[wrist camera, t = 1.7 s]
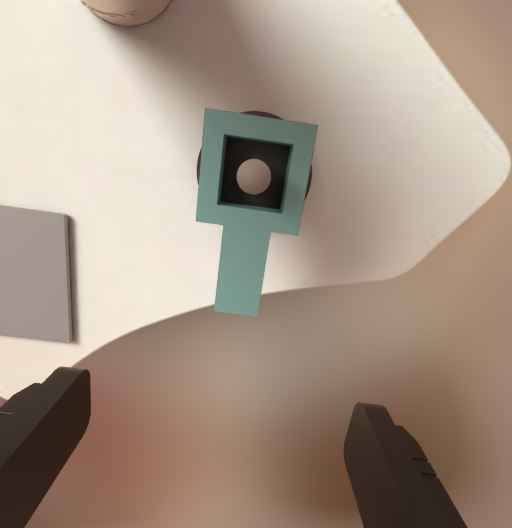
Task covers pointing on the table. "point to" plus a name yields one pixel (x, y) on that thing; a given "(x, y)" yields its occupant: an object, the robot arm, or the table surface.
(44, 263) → the mat
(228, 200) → the stand
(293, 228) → the teal square frame paddle
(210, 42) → the table surface
